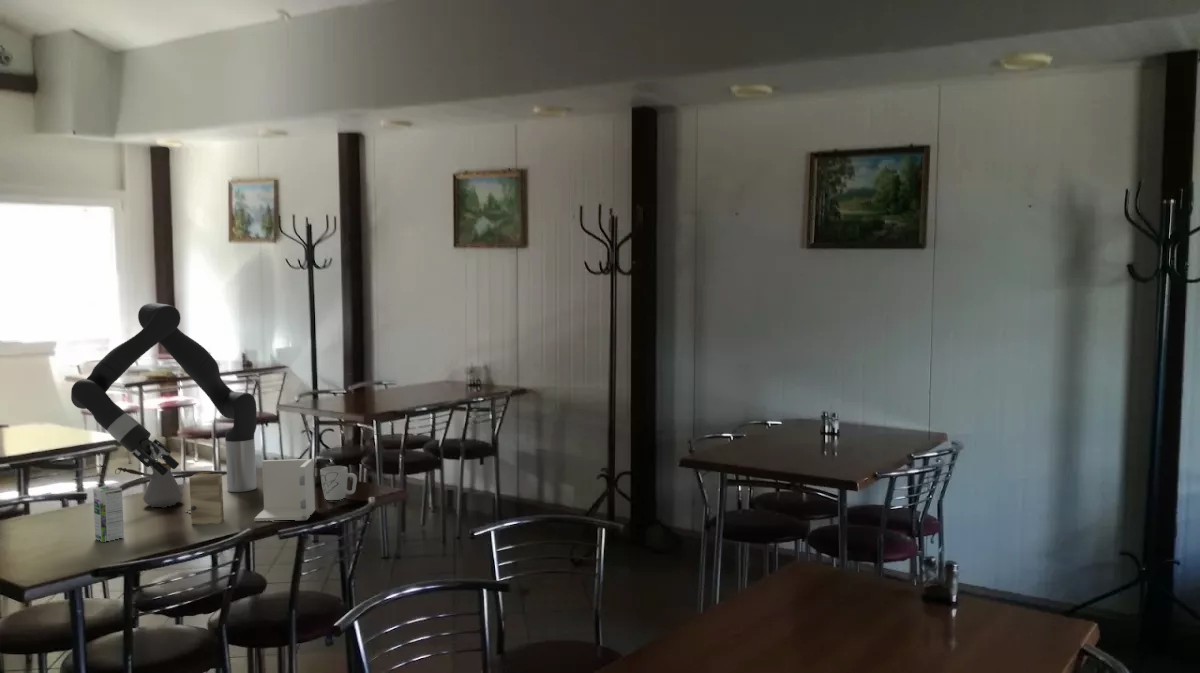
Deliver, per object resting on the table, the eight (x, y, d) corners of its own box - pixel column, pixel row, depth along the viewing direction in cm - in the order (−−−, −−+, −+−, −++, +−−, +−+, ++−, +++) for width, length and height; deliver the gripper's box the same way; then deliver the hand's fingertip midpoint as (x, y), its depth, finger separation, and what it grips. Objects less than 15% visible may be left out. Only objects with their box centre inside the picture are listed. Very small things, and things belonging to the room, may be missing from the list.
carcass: (265, 511, 288) (263, 460, 287) (315, 509, 289) (313, 458, 288) (253, 523, 275) (250, 469, 273) (305, 521, 276) (303, 467, 275)
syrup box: (94, 539, 261) (91, 488, 260) (116, 534, 265) (113, 484, 264) (103, 543, 257) (100, 491, 256) (125, 538, 261) (122, 487, 260)
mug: (360, 495, 307) (359, 465, 306) (354, 501, 299) (353, 470, 298) (325, 496, 307) (324, 466, 306) (318, 502, 298) (317, 471, 298)
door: (196, 521, 278) (193, 474, 277) (223, 520, 279) (221, 473, 278) (190, 525, 273) (188, 478, 272) (218, 524, 274) (216, 477, 273)
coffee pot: (166, 499, 307) (164, 453, 306) (191, 502, 301) (188, 456, 300) (106, 514, 288) (104, 466, 287) (131, 518, 283) (128, 469, 281)
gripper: (127, 427, 266) (171, 465, 268) (147, 419, 280) (188, 455, 282) (109, 446, 266) (153, 484, 268) (130, 437, 280) (171, 473, 282)
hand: (171, 469), depth 275 cm, fingers open, 8 cm apart
